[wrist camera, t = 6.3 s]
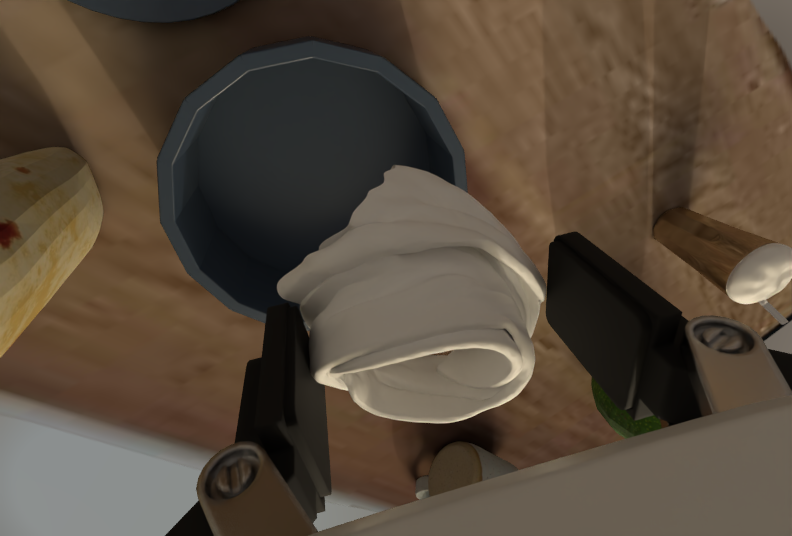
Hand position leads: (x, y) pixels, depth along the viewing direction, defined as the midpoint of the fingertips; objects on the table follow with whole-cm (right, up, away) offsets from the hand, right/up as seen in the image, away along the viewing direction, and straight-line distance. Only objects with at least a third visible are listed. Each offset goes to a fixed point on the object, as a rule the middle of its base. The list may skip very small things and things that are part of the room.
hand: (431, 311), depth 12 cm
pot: (-6, +7, +15) cm, 18 cm away
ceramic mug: (+6, -20, +34) cm, 40 cm away
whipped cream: (0, +1, +1) cm, 2 cm away
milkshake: (+22, +5, +23) cm, 32 cm away
